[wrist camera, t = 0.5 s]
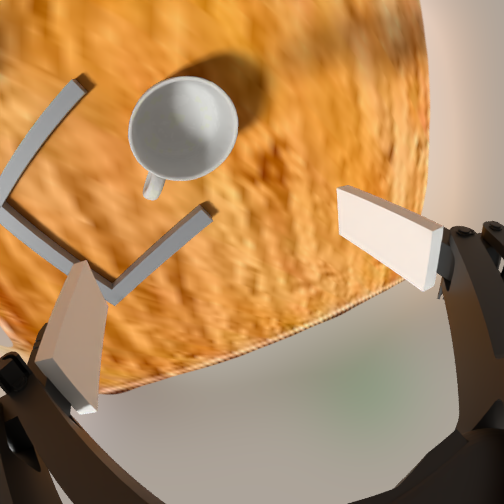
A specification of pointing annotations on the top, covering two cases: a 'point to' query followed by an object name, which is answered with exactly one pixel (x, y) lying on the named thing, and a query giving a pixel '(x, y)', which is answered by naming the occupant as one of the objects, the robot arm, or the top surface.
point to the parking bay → (52, 251)
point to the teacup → (181, 130)
